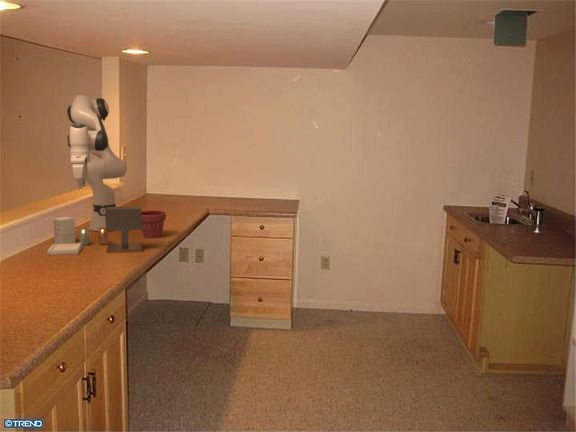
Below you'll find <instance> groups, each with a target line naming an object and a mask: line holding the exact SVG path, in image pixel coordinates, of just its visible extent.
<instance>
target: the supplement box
mask: <svg viewBox="0 0 576 432" xmlns="http://www.w3.org/2000/svg"><path fill="white" fill-rule="evenodd" d="M75 226H76V225H75V218H74V217H72V216H71V217H70V216H62V217H61V216H60V217H54V218H53V233H54V234H53V235H54V244H71V243H77V242H76V228H75Z"/></svg>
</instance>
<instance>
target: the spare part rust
mask: <svg viewBox="0 0 576 432" xmlns="http://www.w3.org/2000/svg"><path fill="white" fill-rule="evenodd" d="M97 232H98V246H101V247H102V246H108V245H109V244H110V242H109V241H110V240H109V231H106V228H99V229H98V231H97Z"/></svg>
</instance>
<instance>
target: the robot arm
mask: <svg viewBox="0 0 576 432" xmlns="http://www.w3.org/2000/svg"><path fill="white" fill-rule="evenodd" d="M109 108H110V107H109V104H108V102H107V101H106V100H105V99H104V98H102V97H100V98H99V97H98V98H95V99H91V98H90V97H89V96H87V95H85V94H78V95H76V96H75V97H74V98H73V100H72V102H71V104H70V105H69V106H68V107H67V109H66V115H67V118H68V120H69V121H70V123H72V124H71V125H70V126H69V127H70V128H69V133H68V135H67V146H68V147H69V148H70V151H69V154H70V155H69V157H70V164H71V165H72V173H73V178H74V180H75V181H76V182H77V188H78V190H80V189H81V190H82V189H83V187H85V186H86V182H87V183H88V184H89V186H90V188H91V190H92V196H93V204H92V211H93V212H92V213H91V214H90V226H88V227H87V228H88V229H89V231H94V232H98V229H99V228H106V218H105V209H106V207H117V205H116V202H115V199H116V198H115V197H116V196H115V190H114V188H113V187H111V186H109V185H107V184H105V183H104V181H103V180H109V179H110V180H111V179H118V178H119V179H120V178H123V177H125V176H126V173H127V172H128V171H127V170H128V168H127V164H126V162H125V161H124V160H123V159H121V158H120V157H118V156H117V155H116V153H114V152H113V151H112V149H111V146H110V143H109V137H108V134H107V129H106V128H105V125H104V123H103V122H105V120H106V118H108V115H109V113H110V109H109ZM91 155H93V156H94V157H95V156H96V157H97V158H91Z"/></svg>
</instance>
